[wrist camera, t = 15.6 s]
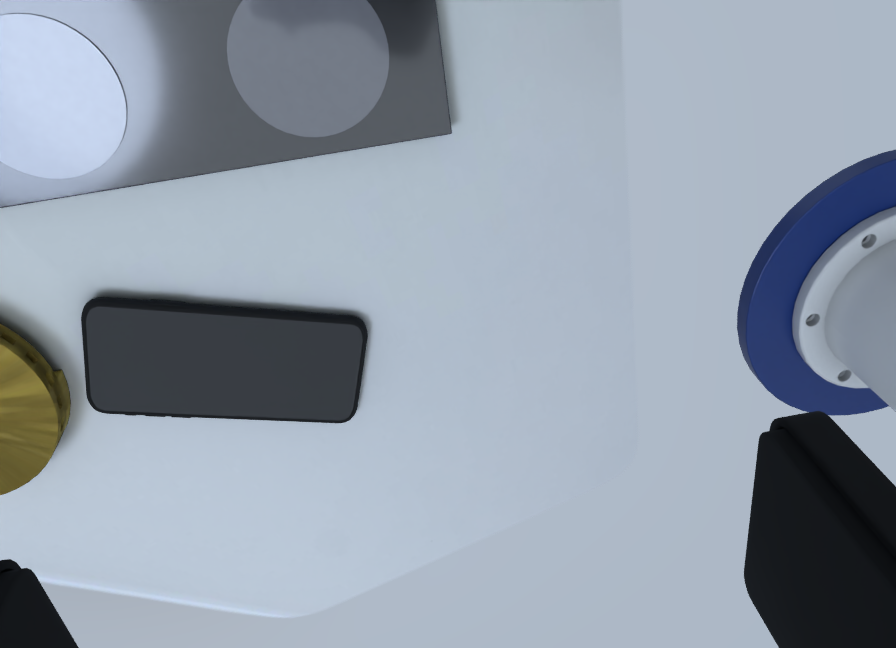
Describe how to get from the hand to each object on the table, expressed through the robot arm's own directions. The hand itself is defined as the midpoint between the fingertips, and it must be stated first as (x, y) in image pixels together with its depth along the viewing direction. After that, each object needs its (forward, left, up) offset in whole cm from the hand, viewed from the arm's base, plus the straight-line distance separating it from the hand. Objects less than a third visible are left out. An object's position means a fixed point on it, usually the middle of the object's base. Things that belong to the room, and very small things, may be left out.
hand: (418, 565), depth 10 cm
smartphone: (+10, +14, -30) cm, 35 cm away
